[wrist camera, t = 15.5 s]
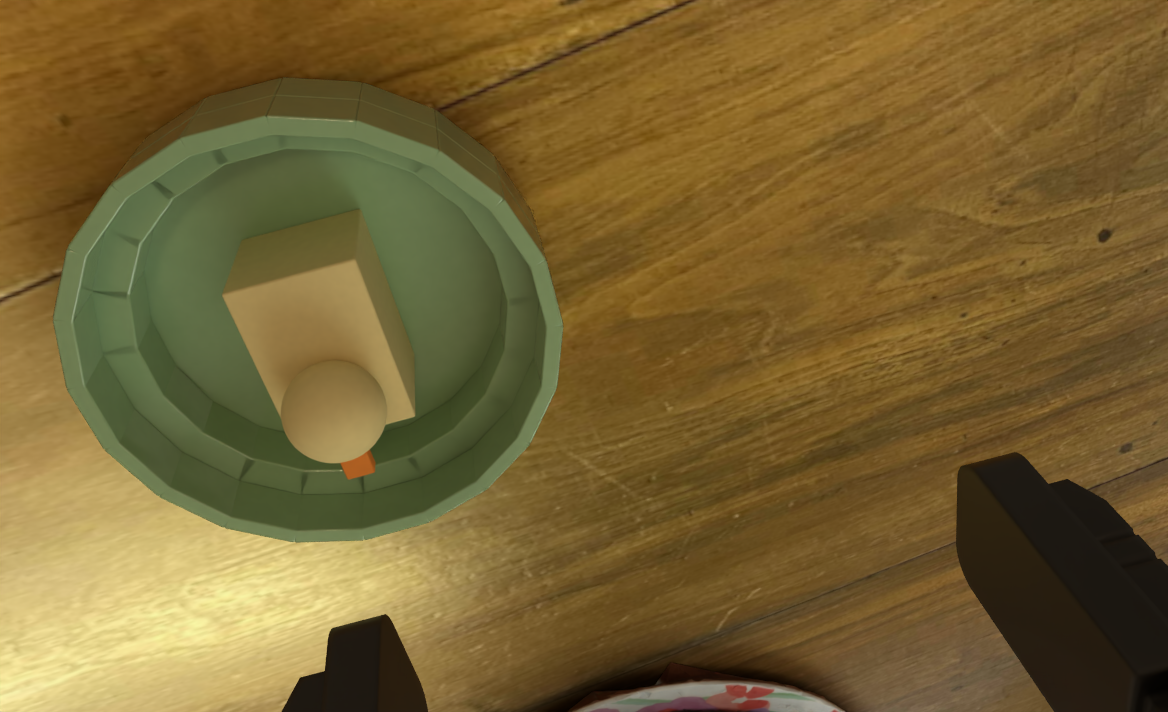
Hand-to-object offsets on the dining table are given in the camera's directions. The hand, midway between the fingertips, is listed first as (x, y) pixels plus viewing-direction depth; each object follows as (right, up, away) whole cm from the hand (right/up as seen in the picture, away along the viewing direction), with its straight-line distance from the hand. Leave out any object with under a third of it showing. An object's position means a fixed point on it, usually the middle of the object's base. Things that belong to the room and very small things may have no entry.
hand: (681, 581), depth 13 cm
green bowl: (-11, +6, +23) cm, 26 cm away
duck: (-11, +5, +23) cm, 25 cm away
